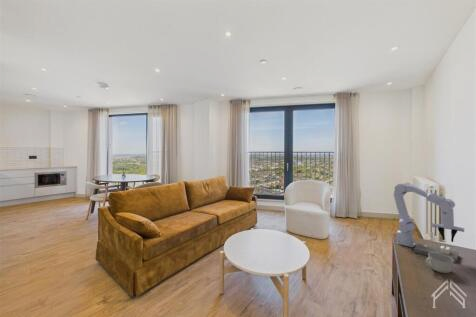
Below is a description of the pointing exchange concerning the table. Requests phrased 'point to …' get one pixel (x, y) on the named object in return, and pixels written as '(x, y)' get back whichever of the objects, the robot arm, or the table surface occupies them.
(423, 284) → the table surface
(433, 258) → the teacup
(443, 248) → the fader
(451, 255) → the console
